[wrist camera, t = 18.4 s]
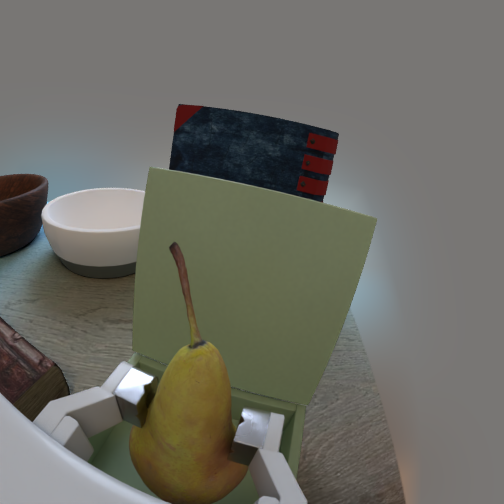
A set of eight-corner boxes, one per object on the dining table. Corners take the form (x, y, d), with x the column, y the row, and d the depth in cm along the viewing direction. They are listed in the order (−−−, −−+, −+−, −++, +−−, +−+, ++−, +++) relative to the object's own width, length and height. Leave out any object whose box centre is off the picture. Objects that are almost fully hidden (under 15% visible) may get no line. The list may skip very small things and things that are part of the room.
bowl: (192, 245, 52) (197, 202, 49) (121, 309, 32) (117, 248, 28) (102, 219, 55) (102, 182, 52) (23, 259, 35) (16, 211, 31)
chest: (261, 566, 9) (278, 566, 7) (66, 491, 11) (44, 473, 9) (291, 430, 21) (306, 405, 19) (139, 382, 23) (135, 351, 21)
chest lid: (377, 218, 15) (361, 212, 20) (149, 166, 17) (178, 170, 22) (308, 405, 19) (308, 371, 23) (132, 350, 21) (156, 326, 25)
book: (302, 263, 54) (334, 133, 43) (306, 281, 47) (345, 133, 37) (172, 239, 53) (188, 106, 43) (160, 254, 47) (176, 103, 36)
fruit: (119, 490, 9) (24, 317, 4) (159, 416, 14) (154, 225, 9) (225, 528, 8) (318, 431, 3) (249, 445, 14) (318, 267, 9)
